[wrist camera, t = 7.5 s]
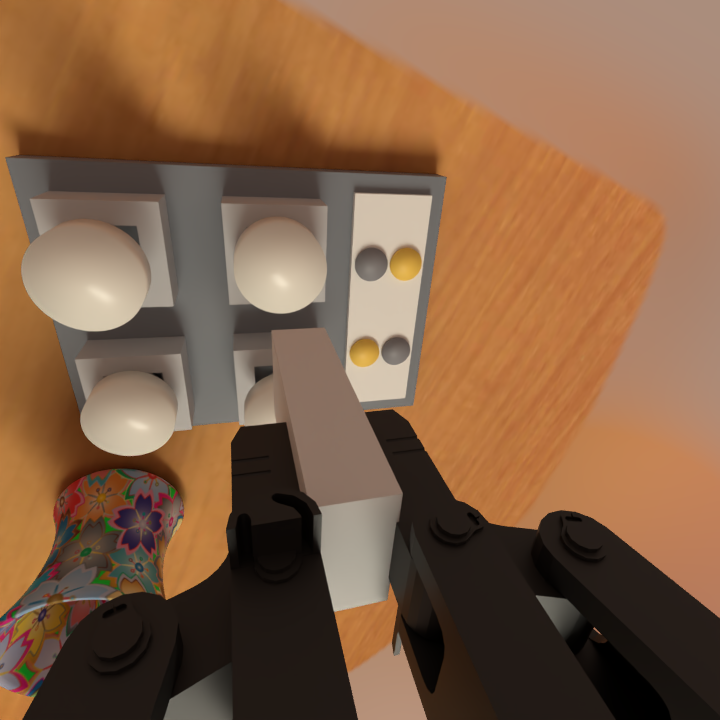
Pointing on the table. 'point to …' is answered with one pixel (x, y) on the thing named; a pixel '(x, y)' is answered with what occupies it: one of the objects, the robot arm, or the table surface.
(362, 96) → the table surface
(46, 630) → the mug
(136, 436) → the button
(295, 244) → the button
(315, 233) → the board
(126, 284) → the button
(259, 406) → the button
